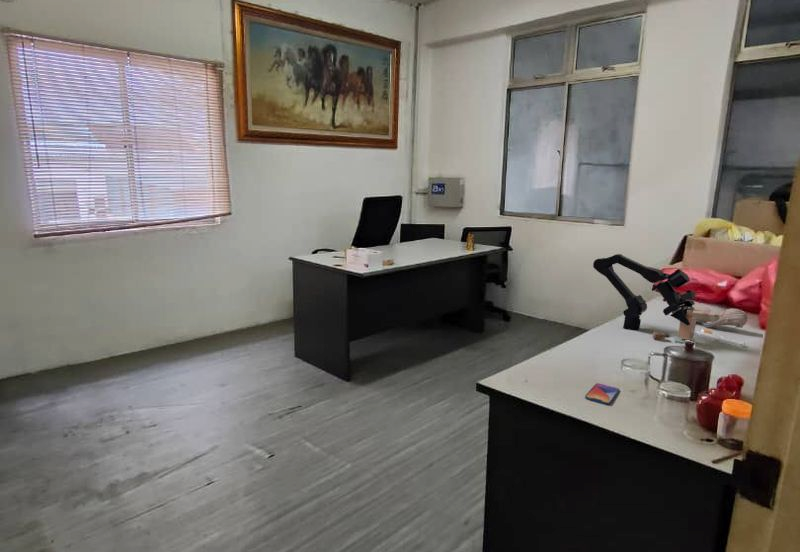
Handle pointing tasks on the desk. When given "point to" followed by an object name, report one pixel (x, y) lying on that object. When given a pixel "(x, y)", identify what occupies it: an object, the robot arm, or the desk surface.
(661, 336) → the walnut block
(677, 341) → the mat
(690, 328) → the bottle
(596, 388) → the smartphone
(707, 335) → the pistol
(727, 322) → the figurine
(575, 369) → the desk surface
